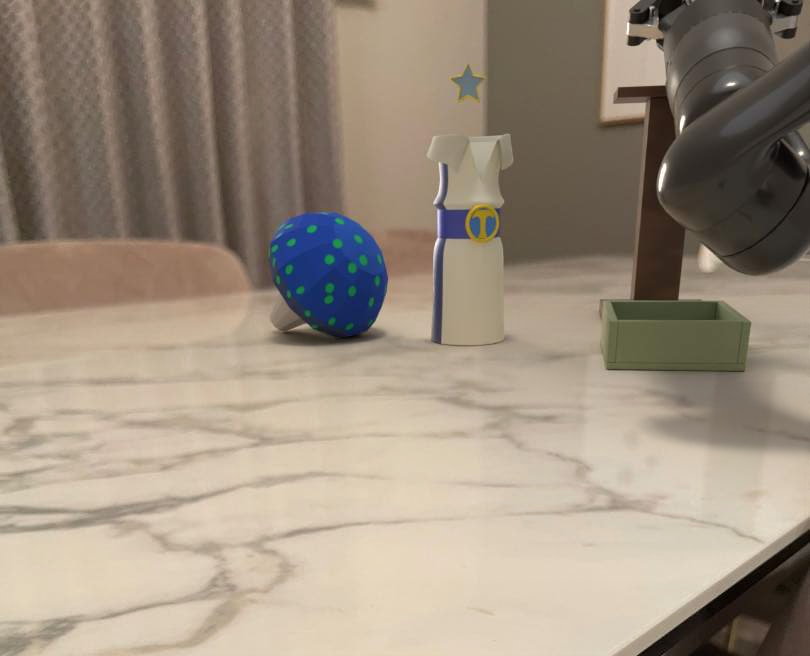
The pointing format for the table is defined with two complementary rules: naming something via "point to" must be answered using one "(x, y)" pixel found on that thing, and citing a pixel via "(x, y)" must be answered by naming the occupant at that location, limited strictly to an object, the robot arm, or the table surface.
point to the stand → (654, 205)
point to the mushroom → (326, 275)
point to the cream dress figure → (469, 232)
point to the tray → (674, 335)
